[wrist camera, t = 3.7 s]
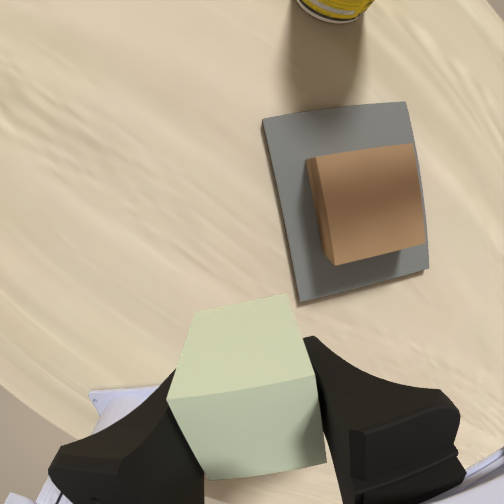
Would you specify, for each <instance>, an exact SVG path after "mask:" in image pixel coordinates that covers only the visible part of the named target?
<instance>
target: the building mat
mask: <svg viewBox="0 0 504 504" xmlns="http://www.w3.org/2000/svg"><path fill="white" fill-rule="evenodd" d="M262 122H263V127H264V131H265V135H266V140H267V144H268V149H269V153H270V158H271V162H272V167H273V171H274V176H275V181H276V185H277V190H278V195H279V199H280V204H281V209H282V214H283V219H284V224H285V229H286V234H287V239H288V244H289V249H290V254H291V259H292V265H293V270H294V275H295V281H296V286H297V292H298V297H299V300H300V302H303V301H307V300H312V299H316V298H320V297H324V296H328V295H332V294H336V293H340V292H344V291H348V290H352V289H356V288H360V287H364V286H368V285H372V284H375V283H379V282H383V281H386V280H390V279H394V278H397V277H401V276H404V275H408V274H411V273H415V272H418V271H422V270H425V269H429V254H428V238H427V226H426V215H425V206H424V197H423V190H422V182H421V176H420V169H419V163H418V157H417V152H416V146H415V141H414V136H413V131H412V127H411V122H410V118H409V113H408V109H407V105H406V102H390V103H376V104H364V105H354V106H344V107H336V108H328V109H320V110H313V111H306V112H299V113H293V114H287V115H281V116H276V117H270V118H265V119H262ZM409 143H413V148H414V153H415V159H416V165H417V171H418V177H419V184H420V191H421V199H422V208H423V217H424V228H425V240H426V243H425V244H421V245H417V246H413V247H409V248H405V249H402V250H398V251H394V252H390V253H386V254H382V255H378V256H373V257H369V258H365V259H361V260H357V261H353V262H349V263H345V264H340V265H336V266H335V265H334V264H333V263H332V262H331V261H330V260H329V259H328V258H327V257H326V256H325V255H324V254H323V253H322V247H321V241H320V235H319V229H318V223H317V218H316V212H315V207H314V202H313V197H312V191H311V186H310V181H309V176H308V172H307V167H306V162H305V160H306V159H310V158H314V157H318V156H324V155H330V154H336V153H342V152H349V151H356V150H362V149H369V148H377V147H384V146H392V145H401V144H409Z"/></svg>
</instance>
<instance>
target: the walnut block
mask: <svg viewBox="0 0 504 504" xmlns="http://www.w3.org/2000/svg"><path fill="white" fill-rule="evenodd" d="M305 162H306V167H307V172H308V176H309V181H310V186H311V191H312V197H313V202H314V207H315V212H316V218H317V223H318V229H319V235H320V241H321V247H322V253H323V254H324V255H325V256H326V257H327V258H328V259H329V260H330V261H331V262H332V263H333V264H334V265H335V266H336V265H340V264H345V263H349V262H353V261H357V260H361V259H365V258H369V257H373V256H378V255H382V254H386V253H390V252H394V251H398V250H402V249H405V248H409V247H413V246H417V245H421V244H425V243H426V240H425V228H424V217H423V208H422V199H421V191H420V184H419V177H418V171H417V165H416V159H415V153H414V148H413V143H409V144H401V145H392V146H384V147H377V148H369V149H362V150H356V151H349V152H342V153H336V154H330V155H324V156H318V157H314V158H310V159H306V160H305Z"/></svg>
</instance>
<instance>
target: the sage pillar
mask: <svg viewBox="0 0 504 504" xmlns="http://www.w3.org/2000/svg"><path fill="white" fill-rule="evenodd" d="M166 400H167V402H168V404H169V406H170V408H171V410H172V413H173V415H174V417H175V419H176V421H177V423H178V425H179V427H180V429H181V430H182V432H183V434H184V436H185V438H186V440H187V442H188V444H189V446H190V447H191V449H192V451H193V453H194V455H195V457H196V458H197V460H198V462H199V464H200V465H201V467H202V469H203V471H204V472H205V474H206V476H207V477H208V479H209V481H211V480H224V479H235V478H244V477H252V476H260V475H267V474H273V473H279V472H285V471H290V470H295V469H300V468H305V467H310V466H314V465H319V464H323V463H327V459H326V451H325V443H324V435H323V428H322V420H321V413H320V406H319V399H318V392H317V385H316V379H315V373H314V371H313V368H312V365H311V362H310V359H309V356H308V353H307V350H306V347H305V344H304V341H303V338H302V336H301V333H300V330H299V327H298V324H297V321H296V318H295V315H294V312H293V310H292V307H291V304H290V301H289V298H288V295H287V293H284V294H280V295H275V296H271V297H266V298H262V299H257V300H252V301H247V302H243V303H238V304H233V305H228V306H223V307H218V308H213V309H208V310H203V311H198V312H195V315H194V318H193V321H192V324H191V327H190V330H189V333H188V336H187V338H186V341H185V344H184V347H183V350H182V353H181V356H180V359H179V362H178V365H177V368H176V371H175V374H174V377H173V380H172V383H171V386H170V389H169V392H168V395H167V399H166Z"/></svg>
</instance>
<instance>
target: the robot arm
mask: <svg viewBox="0 0 504 504" xmlns="http://www.w3.org/2000/svg"><path fill="white" fill-rule="evenodd" d="M303 341H304V344H305V347H306V350H307V353H308V356H309V359H310V362H311V365H312V368H313V371H314V373H315V379H316V385H317V392H318V399H319V406H320V413H321V420H322V428H323V432H324V434H325V437H326V440H327V443H328V446H329V449H330V453H331V456H332V460H333V464H334V468H335V472H336V476H337V480H338V484H339V488H340V492H341V497H342V501H343V504H504V447H502V448H501V449H499V450H497V451H496V452H494V453H493V454H491V455H489V456H488V457H486V458H485V459H483V460H481V461H479V462H478V463H476V464H474V465H472V466H471V467H469V468H467V469H464V468H463V466H462V464H461V463H460V461H459V460H458V458H457V457H456V456H458V450H457V449H456V447H455V446H454V441H455V437H456V434H457V431H458V427H459V424H460V417H461V416H460V413H459V410H458V409H457V407H456V406H455V405H454V404H453V402H452V401H451V400H450V399H449V398H448V397H447V396H446V395H445V394H444V393H443V392H442V391H441V390H440V389H429V388H418V387H412V386H406V385H401V384H397V383H393V382H390V381H387V380H384V379H381V378H378V377H375V376H373V375H370V374H368V373H366V372H364V371H362V370H360V369H358V368H356V367H354V366H353V365H351V364H350V363H348V362H346V361H345V360H343V359H342V358H341V357H339V356H338V355H336V354H335V353H334V352H332V351H331V350H330V349H329V348H328V347H326V346H325V345H324V344H323V343H322V342H321V341H320V340H319V339H318V338H317V337H315V336H310V337H306V338H303ZM175 371H176V369H175V370H174V371H173V372H172V373H171V374H170V375H169V377H168V378H167V379H166V380H165V381H164V382H163V383H162V384H161V385H160V386H150V387H139V388H126V389H110V390H92V391H90V392H89V394H88V396H89V398H90V400H91V401H92V403H93V405H94V407H95V408H96V410H97V412H98V413H99V415H100V418H99V420H98V422H97V424H96V426H95V428H94V430H93V432H92V434H91V436H88V437H86V438H84V439H81V440H78V441H75V442H72V443H69V444H67V445H64V446H61V447H60V449H59V451H58V452H57V454H56V456H55V458H54V460H53V461H52V463H51V465H50V467H49V469H48V474H49V477H48V479H47V480H46V482H45V484H44V486H43V488H42V490H41V492H40V494H39V496H38V498H37V500H36V502H34V501H33V500H31V499H29V498H27V497H24V496H21V495H19V494H16V493H13V492H11V493H10V494H9V496H8V497H7V499H6V501H5V503H4V504H204V471H203V469H202V467H201V465H200V464H199V462H198V460H197V458H196V457H195V455H194V453H193V451H192V449H191V447H190V446H189V444H188V442H187V440H186V438H185V436H184V434H183V432H182V430H181V429H180V427H179V425H178V423H177V421H176V419H175V417H174V415H173V413H172V410H171V408H170V406H169V404H168V402H167V400H166V399H167V395H168V392H169V389H170V386H171V383H172V380H173V377H174V374H175ZM95 399H96V400H95Z"/></svg>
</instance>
